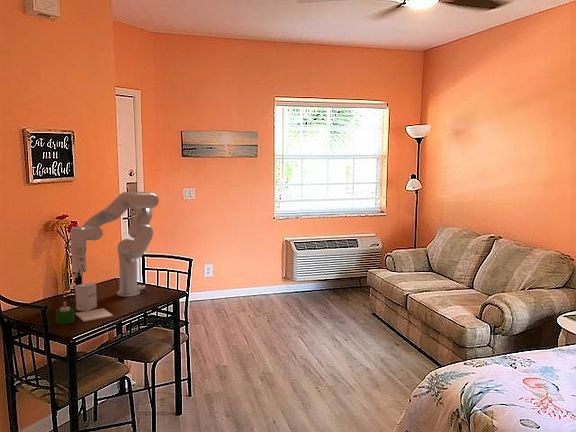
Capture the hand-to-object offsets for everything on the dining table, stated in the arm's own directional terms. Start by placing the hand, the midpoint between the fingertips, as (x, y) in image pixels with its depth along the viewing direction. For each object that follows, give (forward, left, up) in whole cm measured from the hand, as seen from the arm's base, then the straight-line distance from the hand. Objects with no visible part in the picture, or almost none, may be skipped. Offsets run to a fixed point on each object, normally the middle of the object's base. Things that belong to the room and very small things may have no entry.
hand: (78, 284), depth 263 cm
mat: (-1, +22, -11) cm, 24 cm away
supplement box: (-1, +11, -11) cm, 15 cm away
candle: (+13, +23, -11) cm, 29 cm away
